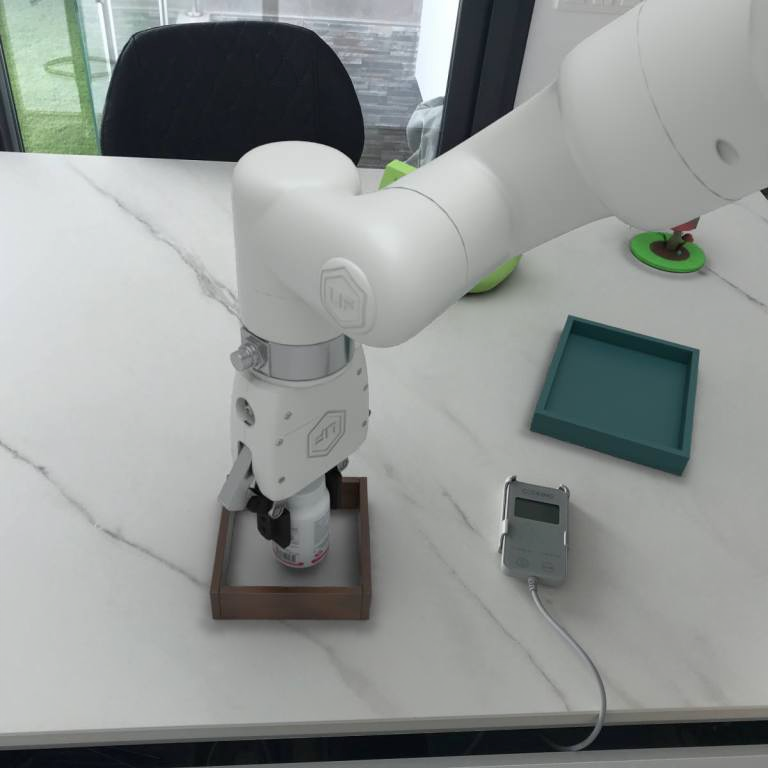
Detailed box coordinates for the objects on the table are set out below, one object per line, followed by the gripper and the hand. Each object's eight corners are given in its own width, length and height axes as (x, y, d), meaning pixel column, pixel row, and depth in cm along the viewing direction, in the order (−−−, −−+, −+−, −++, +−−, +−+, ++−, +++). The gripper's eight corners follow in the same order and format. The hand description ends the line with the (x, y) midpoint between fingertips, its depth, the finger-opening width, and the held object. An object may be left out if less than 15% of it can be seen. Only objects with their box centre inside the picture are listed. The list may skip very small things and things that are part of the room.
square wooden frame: (364, 502, 72) (367, 476, 69) (368, 620, 62) (371, 594, 60) (229, 500, 71) (227, 474, 68) (212, 619, 61) (209, 593, 59)
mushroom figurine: (730, 267, 111) (771, 169, 102) (658, 279, 107) (695, 178, 97) (678, 228, 119) (711, 133, 110) (610, 238, 115) (639, 140, 106)
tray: (681, 476, 78) (689, 458, 76) (529, 430, 81) (534, 411, 80) (692, 366, 92) (700, 349, 90) (563, 331, 96) (568, 314, 94)
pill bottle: (319, 519, 67) (320, 449, 62) (336, 561, 64) (339, 491, 59) (265, 532, 66) (262, 462, 61) (280, 576, 63) (277, 505, 57)
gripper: (234, 422, 44) (249, 610, 56) (423, 310, 55) (403, 488, 66) (156, 364, 48) (185, 551, 59) (347, 269, 58) (340, 444, 70)
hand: (300, 516), depth 63 cm, fingers closed on pill bottle, 4 cm apart
